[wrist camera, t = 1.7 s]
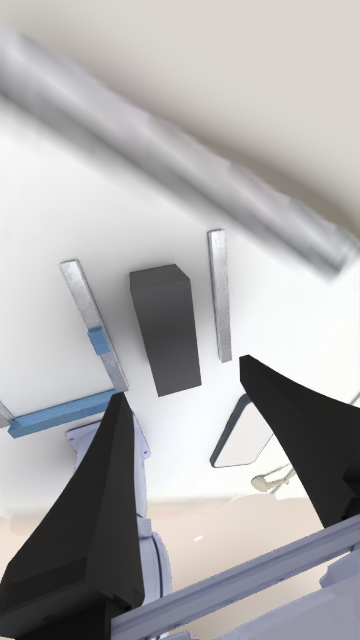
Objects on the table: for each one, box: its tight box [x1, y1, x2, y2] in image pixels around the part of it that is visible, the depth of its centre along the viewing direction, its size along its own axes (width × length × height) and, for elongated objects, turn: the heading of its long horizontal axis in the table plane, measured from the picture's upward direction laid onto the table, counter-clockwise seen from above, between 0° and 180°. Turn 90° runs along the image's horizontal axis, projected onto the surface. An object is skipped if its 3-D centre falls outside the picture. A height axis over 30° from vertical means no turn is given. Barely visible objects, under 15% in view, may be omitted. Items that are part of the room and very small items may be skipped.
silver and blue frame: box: [0, 229, 232, 438], centre depth 19 cm, size 15×25×2 cm, turn 100°
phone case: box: [210, 394, 274, 468], centre depth 32 cm, size 9×2×16 cm
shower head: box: [251, 471, 296, 492], centre depth 42 cm, size 5×3×20 cm
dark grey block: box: [130, 264, 202, 397], centre depth 18 cm, size 10×4×5 cm, turn 8°
